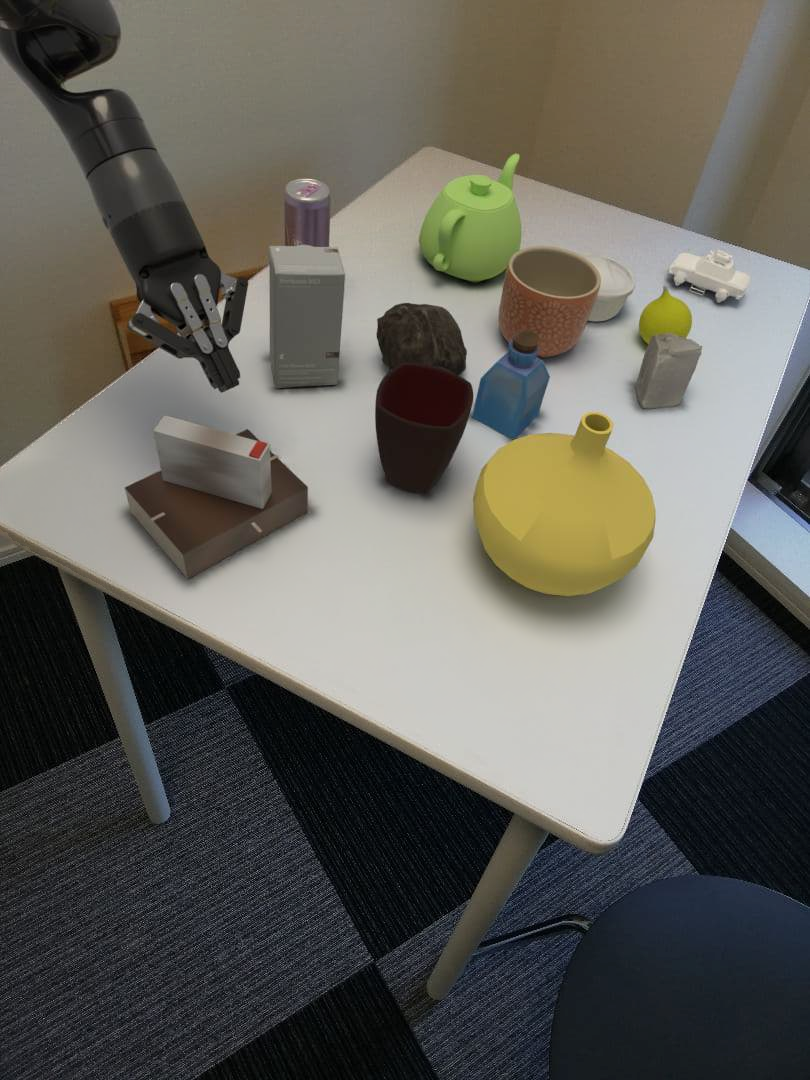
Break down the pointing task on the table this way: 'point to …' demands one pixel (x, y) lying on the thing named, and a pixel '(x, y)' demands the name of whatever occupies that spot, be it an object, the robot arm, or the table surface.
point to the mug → (420, 423)
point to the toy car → (711, 274)
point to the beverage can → (307, 213)
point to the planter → (548, 296)
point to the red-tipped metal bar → (214, 461)
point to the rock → (421, 337)
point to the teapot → (473, 226)
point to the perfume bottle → (513, 387)
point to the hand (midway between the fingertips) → (230, 388)
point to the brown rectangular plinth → (212, 516)
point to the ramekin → (610, 286)
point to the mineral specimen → (666, 370)
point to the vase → (564, 510)
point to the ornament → (665, 317)
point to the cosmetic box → (305, 314)
